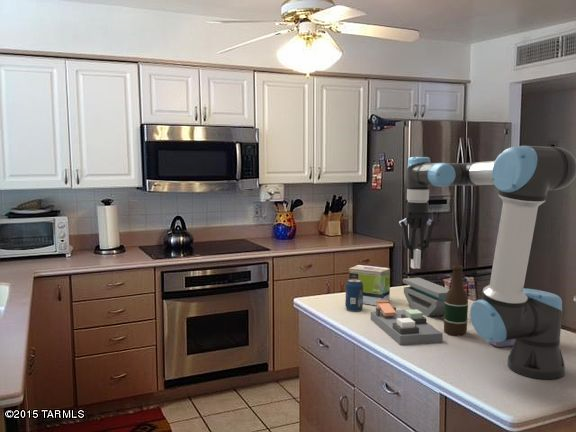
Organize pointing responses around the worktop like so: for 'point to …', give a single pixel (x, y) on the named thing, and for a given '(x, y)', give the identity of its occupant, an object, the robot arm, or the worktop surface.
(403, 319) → the white button
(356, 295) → the soda can
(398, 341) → the control console
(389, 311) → the rocker switch
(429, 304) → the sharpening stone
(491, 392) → the worktop surface
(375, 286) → the tea box
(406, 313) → the green button
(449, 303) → the beer bottle
